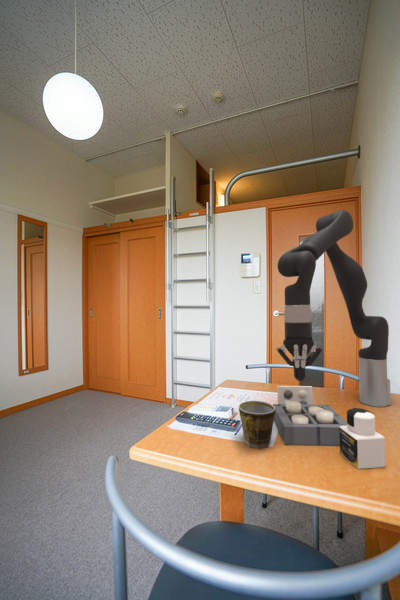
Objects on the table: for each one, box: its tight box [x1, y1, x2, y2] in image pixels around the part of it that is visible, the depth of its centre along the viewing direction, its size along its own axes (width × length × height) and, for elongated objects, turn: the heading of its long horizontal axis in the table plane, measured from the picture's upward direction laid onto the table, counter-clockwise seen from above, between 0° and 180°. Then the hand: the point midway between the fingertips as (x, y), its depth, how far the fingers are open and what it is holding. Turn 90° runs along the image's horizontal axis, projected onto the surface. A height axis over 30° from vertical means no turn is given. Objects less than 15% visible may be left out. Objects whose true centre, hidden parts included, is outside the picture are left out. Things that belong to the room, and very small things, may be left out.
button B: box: [316, 410, 334, 424], centre depth 80 cm, size 5×5×3 cm
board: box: [272, 403, 347, 447], centre depth 83 cm, size 18×17×5 cm
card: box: [277, 385, 314, 405], centre depth 98 cm, size 12×1×9 cm, turn 86°
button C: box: [286, 401, 301, 414], centre depth 87 cm, size 5×5×3 cm
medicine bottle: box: [339, 407, 387, 470], centre depth 68 cm, size 7×7×12 cm
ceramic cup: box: [238, 400, 275, 450], centre depth 76 cm, size 13×10×10 cm
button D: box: [292, 415, 308, 424], centre depth 80 cm, size 5×5×3 cm
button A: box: [308, 406, 324, 414], centre depth 87 cm, size 5×5×3 cm
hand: (299, 380), depth 80 cm, fingers closed
